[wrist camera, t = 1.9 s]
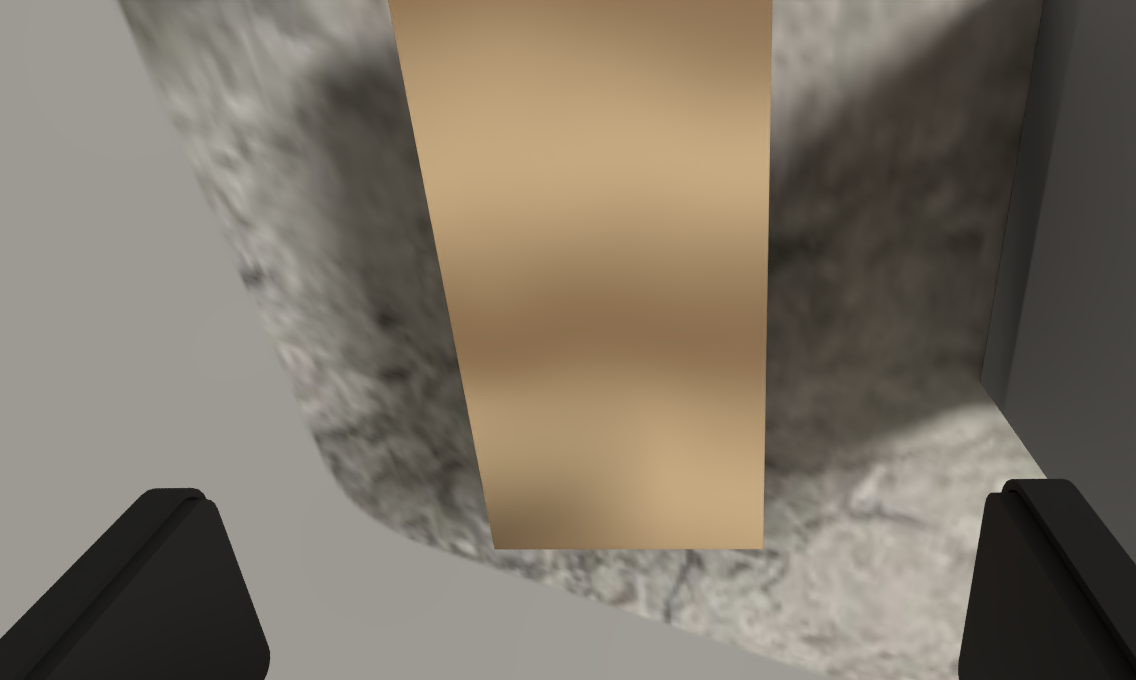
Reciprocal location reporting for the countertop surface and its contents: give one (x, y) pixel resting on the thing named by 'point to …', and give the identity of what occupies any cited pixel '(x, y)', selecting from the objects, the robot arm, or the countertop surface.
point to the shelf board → (603, 258)
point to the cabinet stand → (1074, 262)
